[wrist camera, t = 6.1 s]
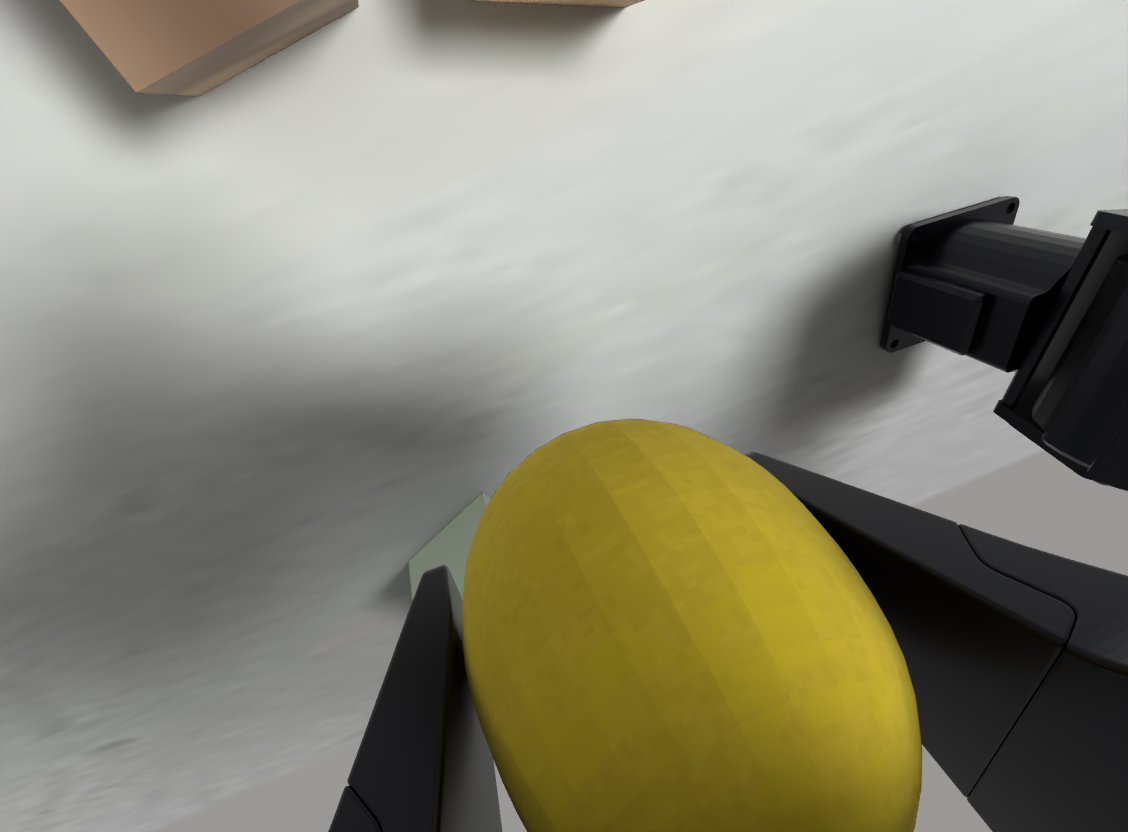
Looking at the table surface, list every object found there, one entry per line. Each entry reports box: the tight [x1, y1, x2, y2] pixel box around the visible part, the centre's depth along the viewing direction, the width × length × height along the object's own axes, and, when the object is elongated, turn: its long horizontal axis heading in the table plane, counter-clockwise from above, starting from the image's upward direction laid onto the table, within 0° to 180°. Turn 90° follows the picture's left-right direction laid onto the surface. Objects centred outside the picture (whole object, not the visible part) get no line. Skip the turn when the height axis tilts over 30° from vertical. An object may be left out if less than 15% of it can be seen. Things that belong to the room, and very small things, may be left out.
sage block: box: [409, 492, 491, 601], centre depth 24 cm, size 5×5×5 cm
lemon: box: [462, 419, 922, 832], centre depth 8 cm, size 6×6×8 cm
